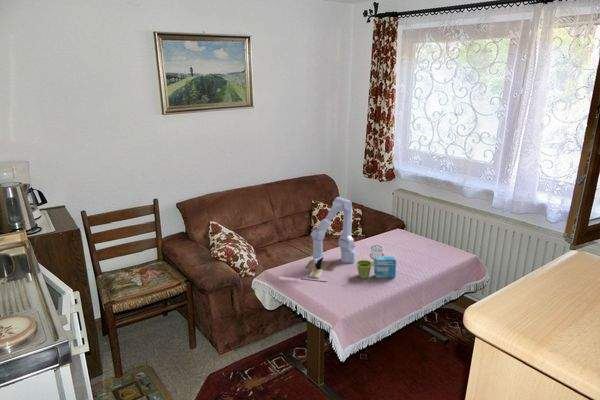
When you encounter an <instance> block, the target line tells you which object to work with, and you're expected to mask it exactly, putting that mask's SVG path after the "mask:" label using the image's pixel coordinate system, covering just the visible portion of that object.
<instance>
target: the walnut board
mask: <svg viewBox="0 0 600 400" xmlns="http://www.w3.org/2000/svg"><path fill="white" fill-rule="evenodd" d="M337 264H338V261H328V260H322V264H321V268H320V269H323V271H325V272H326V271H327V272H334V270H335V268H336V266H337ZM304 269H308V270H313V269H316V265H315V263H314V261H313V259H309V261H308V263H307V265H305V267H304Z"/></svg>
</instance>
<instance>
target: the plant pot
mask: <svg viewBox="0 0 600 400" xmlns="http://www.w3.org/2000/svg"><path fill="white" fill-rule="evenodd" d="M355 262H356V263H355V265H356V266H357V273H358V277H359V278H361V279H369V278H370V273H371V267H372V265H373V263H372V261H370V260H367V259H361V260H357V261H355Z"/></svg>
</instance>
